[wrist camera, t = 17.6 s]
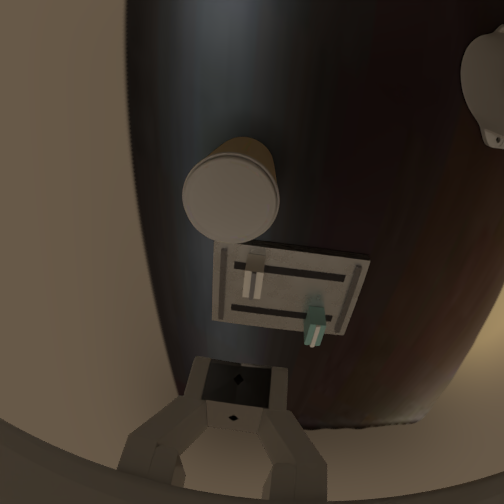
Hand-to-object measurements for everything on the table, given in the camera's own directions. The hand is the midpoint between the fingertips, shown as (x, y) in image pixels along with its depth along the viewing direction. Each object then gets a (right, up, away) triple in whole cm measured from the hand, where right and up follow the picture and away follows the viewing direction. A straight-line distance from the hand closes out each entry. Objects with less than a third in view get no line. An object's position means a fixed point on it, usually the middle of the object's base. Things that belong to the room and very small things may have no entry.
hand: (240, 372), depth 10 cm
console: (+6, -1, +39) cm, 40 cm away
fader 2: (+10, -6, +40) cm, 42 cm away
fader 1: (+1, +2, +36) cm, 36 cm away
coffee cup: (-1, +15, +30) cm, 34 cm away
